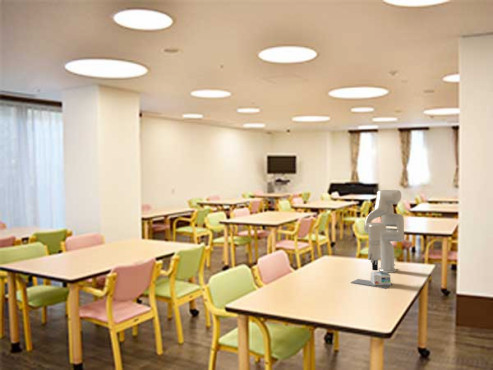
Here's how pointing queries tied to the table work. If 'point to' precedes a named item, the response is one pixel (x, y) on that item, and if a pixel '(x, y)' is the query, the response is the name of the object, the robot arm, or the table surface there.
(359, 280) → the mat
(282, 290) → the table surface
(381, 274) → the light bulb box
